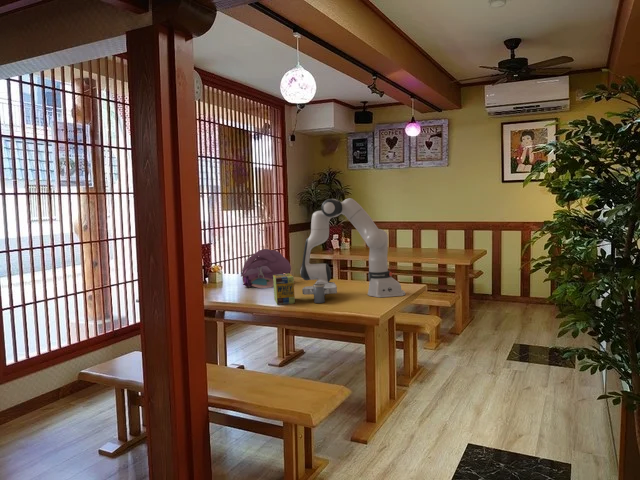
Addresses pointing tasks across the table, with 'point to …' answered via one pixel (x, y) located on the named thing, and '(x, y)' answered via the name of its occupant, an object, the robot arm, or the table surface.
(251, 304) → the table surface
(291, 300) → the protein box
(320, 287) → the tumbler
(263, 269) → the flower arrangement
